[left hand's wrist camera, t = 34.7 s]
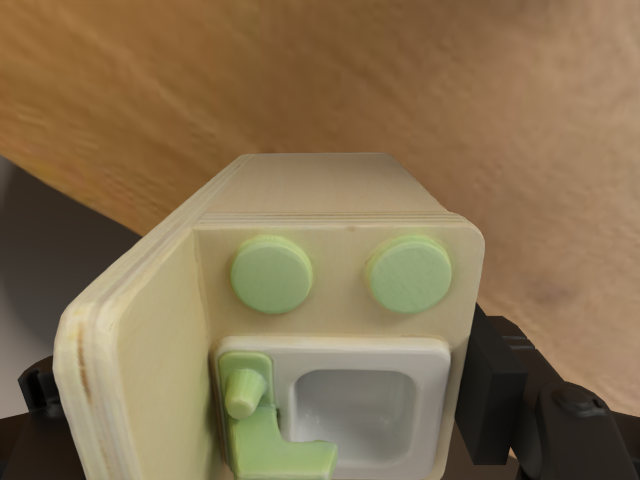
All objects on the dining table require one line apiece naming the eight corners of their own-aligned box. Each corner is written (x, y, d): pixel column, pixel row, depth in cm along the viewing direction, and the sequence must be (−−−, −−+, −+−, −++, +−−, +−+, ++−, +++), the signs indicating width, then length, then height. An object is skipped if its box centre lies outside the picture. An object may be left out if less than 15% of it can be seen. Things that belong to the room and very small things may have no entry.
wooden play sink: (392, 316, 20) (500, 671, 8) (253, 316, 20) (142, 668, 8) (403, 151, 17) (616, 308, 5) (239, 152, 17) (16, 310, 5)
